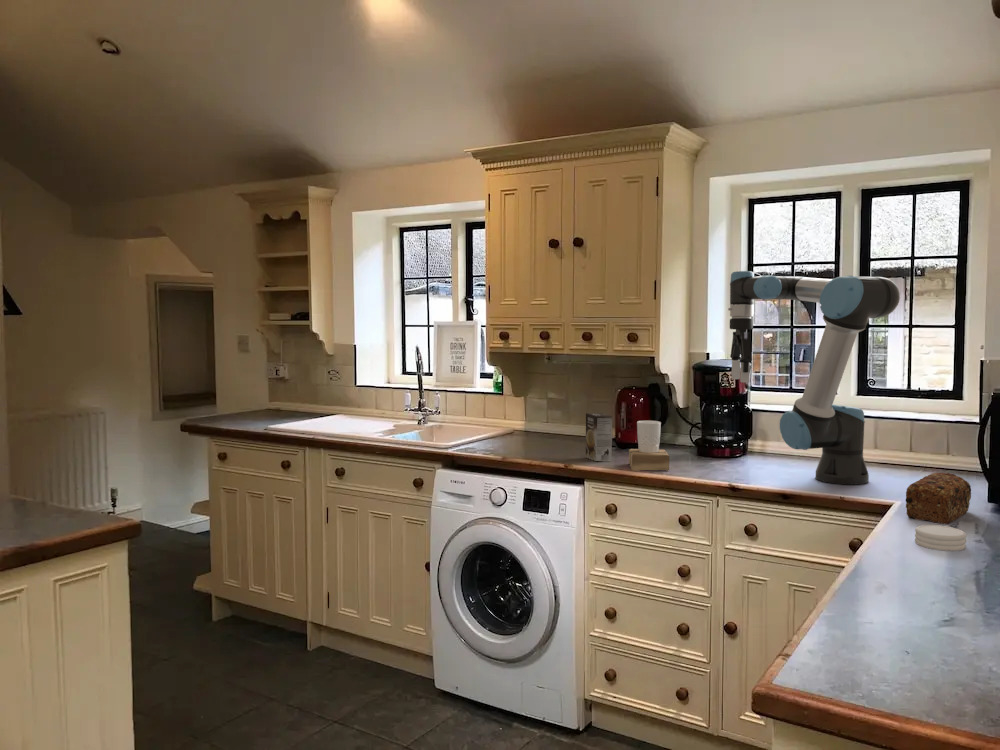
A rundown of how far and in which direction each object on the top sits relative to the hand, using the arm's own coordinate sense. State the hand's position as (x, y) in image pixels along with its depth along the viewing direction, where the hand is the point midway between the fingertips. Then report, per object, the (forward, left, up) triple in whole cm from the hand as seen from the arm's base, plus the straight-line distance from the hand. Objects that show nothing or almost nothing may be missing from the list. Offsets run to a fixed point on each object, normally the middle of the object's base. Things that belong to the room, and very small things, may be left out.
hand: (740, 380), depth 273 cm
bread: (-67, -35, -29) cm, 81 cm away
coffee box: (+8, +47, -29) cm, 56 cm away
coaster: (-95, -23, -29) cm, 102 cm away
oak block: (-6, +31, -29) cm, 43 cm away
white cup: (-5, +31, -24) cm, 39 cm away
